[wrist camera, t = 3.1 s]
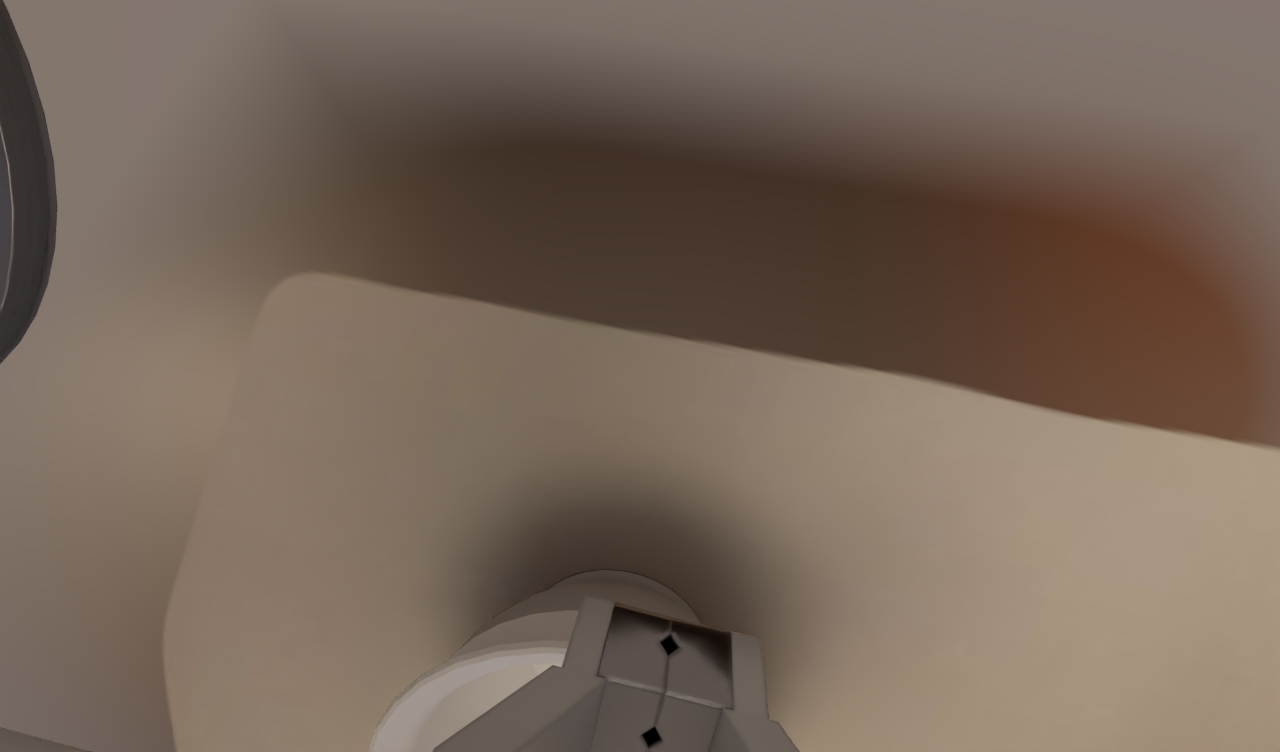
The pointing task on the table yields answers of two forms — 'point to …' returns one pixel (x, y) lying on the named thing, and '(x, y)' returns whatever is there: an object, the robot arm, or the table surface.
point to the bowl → (509, 657)
